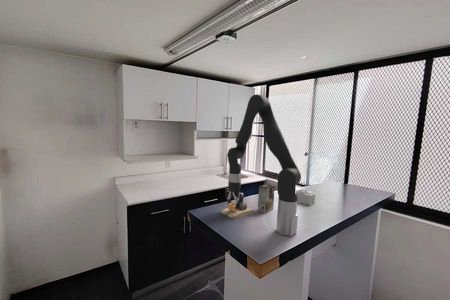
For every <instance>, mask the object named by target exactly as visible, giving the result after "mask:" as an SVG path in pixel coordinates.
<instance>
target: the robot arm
mask: <svg viewBox="0 0 450 300" xmlns="http://www.w3.org/2000/svg"><path fill="white" fill-rule="evenodd" d="M257 115H259V118H260V120H261V122H262V127H263V129H262V130H263V138H264V141H265V143H266V145H267V148H268V149H269V151H270V152H271V153H272V154H273V156H274V157H275V158H276V159H277V161H278V163H279V164H280V168H281V170H280V171H279V173H278V175H277V187H276V188H277V190H276V191H277V195H278V196H277V197H278V199H277V211H276V212H277V216H276V230H275V231H276V232H277V233H278V234H280V235H282V236H287V237H292V236H294V235H295V234H297V233H298V232H297V230H298V218H299V216H298V214H297V210H298V202H297V198H298V196H297V194H296V191H297V190H296V187H297V186H296V185H298V184H299V183H300V181H301V178H302V174H301V172H300V170H299V167H298V166H297V164H296V162H295V160H294V158H293V157H292V155H291V152H290V150H289V148H288V145H287V142H286V140H285V137H284V135H283V133H282V131H281V129H280V126H279V125H278V124H279V123H278V121H277V120H276V116H275V115H274V112H273V109H272V105H271V102H270V100H269V99H268V97H266V96H264V95H260V94H253V95H252V96H251V97H249V99H248V103H247V106H246V110H245V114H244V117H243V121H242V123H241V127H240V129H239V131H238V133H237V135H236V138H235V141H234V142H235V144H236V146H235V147H231V148H229V149H228V150H227V163H228V165H229V167H228V169H229V170H228V178H227V179H228V181H227V182H228V183H227V186H228V187H227V188H225V189H224V197H225V199H227V206H228V205H229V203H232V199H233V198H234V200H235V203H236V209H239V208H240V203H242V202H243V203H244V196H245V193H244V192H241V184H242V165H241V163H239V160H240V159H242V158H243V157H244V156H245V153H246V150H247V144H248V142H249V141H250V138H251V136H252V133H253V127H254V121H255V118H256V117H257Z"/></svg>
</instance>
